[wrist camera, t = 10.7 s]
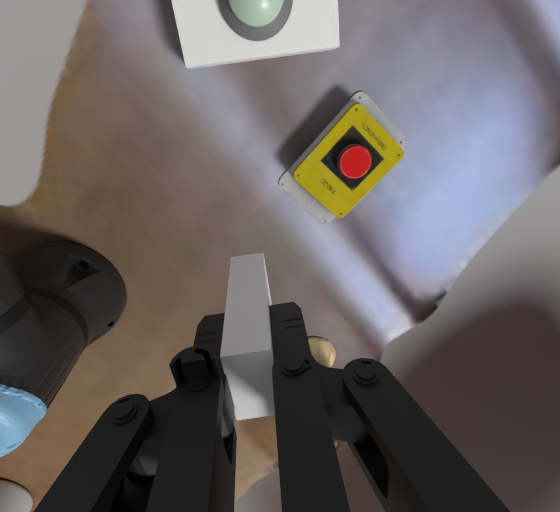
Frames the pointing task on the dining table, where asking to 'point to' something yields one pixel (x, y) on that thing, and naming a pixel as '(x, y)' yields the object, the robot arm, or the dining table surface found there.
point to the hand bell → (322, 354)
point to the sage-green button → (256, 11)
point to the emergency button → (344, 160)
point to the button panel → (253, 31)
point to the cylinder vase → (14, 498)
